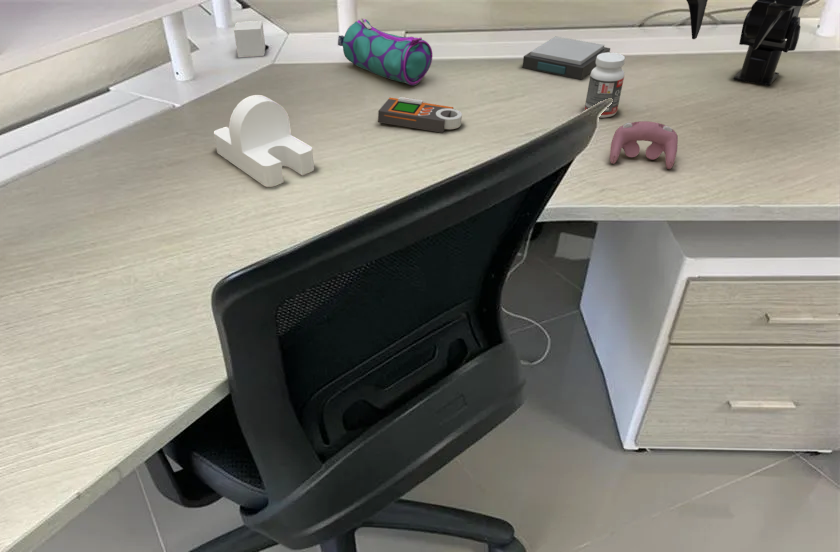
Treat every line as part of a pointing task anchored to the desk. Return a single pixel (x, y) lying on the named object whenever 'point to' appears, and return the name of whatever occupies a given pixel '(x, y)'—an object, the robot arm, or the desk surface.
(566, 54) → the scale
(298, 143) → the white slotted bracket
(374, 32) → the pencil case
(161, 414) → the desk surface
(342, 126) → the desk surface
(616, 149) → the video game controller
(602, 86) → the pill bottle
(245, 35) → the light grey cube
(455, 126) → the electronic device
